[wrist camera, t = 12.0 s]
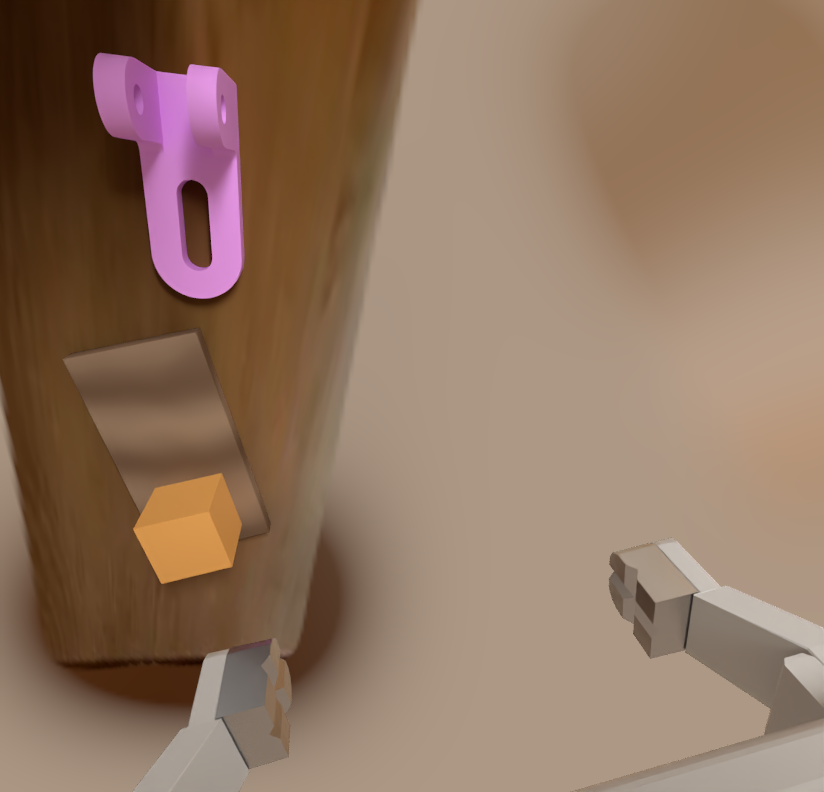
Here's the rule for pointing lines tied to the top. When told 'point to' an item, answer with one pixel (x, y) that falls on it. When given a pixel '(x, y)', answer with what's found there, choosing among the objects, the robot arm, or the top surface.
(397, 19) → the top surface
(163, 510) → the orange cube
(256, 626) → the top surface
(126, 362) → the peg board
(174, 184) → the bracket
